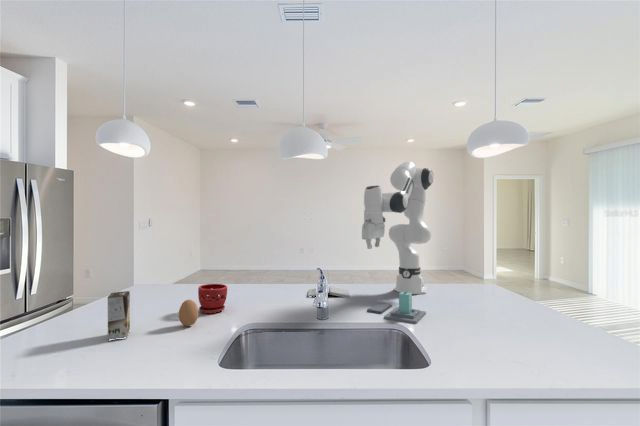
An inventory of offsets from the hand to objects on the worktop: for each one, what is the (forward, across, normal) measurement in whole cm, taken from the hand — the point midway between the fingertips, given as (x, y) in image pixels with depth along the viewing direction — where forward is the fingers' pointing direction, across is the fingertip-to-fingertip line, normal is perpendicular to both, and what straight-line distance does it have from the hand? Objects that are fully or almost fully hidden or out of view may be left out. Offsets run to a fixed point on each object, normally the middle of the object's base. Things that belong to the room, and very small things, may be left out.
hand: (373, 247), depth 166 cm
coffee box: (+29, -83, +69) cm, 112 cm away
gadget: (+30, +14, +33) cm, 47 cm away
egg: (+29, -62, +56) cm, 89 cm away
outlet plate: (+29, -5, -17) cm, 34 cm away
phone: (+29, 0, -3) cm, 29 cm away
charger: (+28, -5, -17) cm, 33 cm away
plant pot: (+29, -42, +64) cm, 82 cm away
